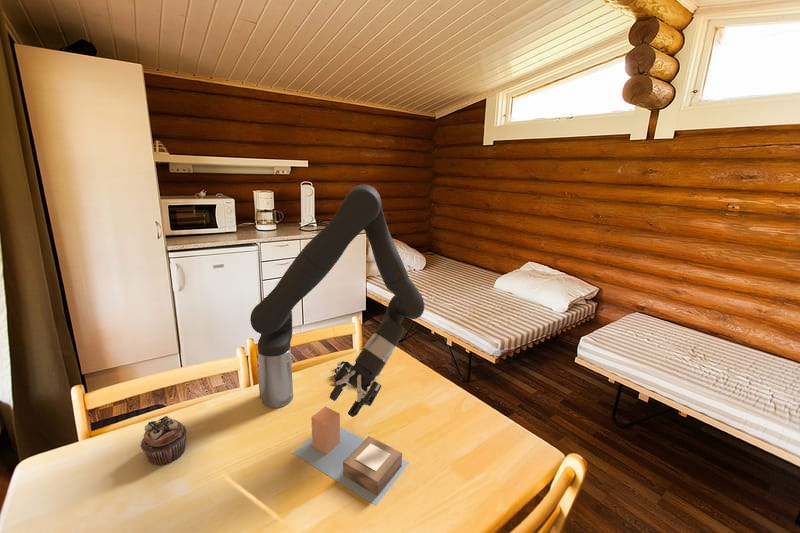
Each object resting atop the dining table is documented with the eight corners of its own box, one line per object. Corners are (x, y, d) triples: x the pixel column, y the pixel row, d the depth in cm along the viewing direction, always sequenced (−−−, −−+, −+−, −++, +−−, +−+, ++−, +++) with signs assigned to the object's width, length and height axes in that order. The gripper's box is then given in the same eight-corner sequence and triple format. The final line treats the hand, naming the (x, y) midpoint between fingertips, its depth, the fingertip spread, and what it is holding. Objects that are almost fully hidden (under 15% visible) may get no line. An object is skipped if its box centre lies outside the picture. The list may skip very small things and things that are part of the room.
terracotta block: (312, 446, 94) (311, 416, 91) (325, 434, 98) (325, 406, 95) (326, 454, 91) (326, 424, 89) (340, 442, 95) (339, 413, 93)
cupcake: (197, 448, 92) (193, 415, 90) (158, 475, 84) (151, 439, 81) (175, 434, 97) (170, 402, 94) (135, 458, 88) (128, 424, 86)
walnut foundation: (343, 475, 85) (343, 460, 84) (368, 448, 93) (368, 435, 92) (377, 496, 80) (378, 481, 79) (401, 466, 88) (402, 452, 87)
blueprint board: (292, 455, 91) (292, 453, 91) (330, 423, 103) (330, 421, 103) (376, 507, 78) (376, 505, 78) (409, 464, 90) (409, 462, 90)
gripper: (352, 338, 102) (317, 390, 97) (385, 359, 92) (348, 417, 88) (367, 349, 107) (334, 399, 102) (399, 370, 97) (365, 425, 92)
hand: (341, 407), depth 95 cm, fingers open, 8 cm apart
